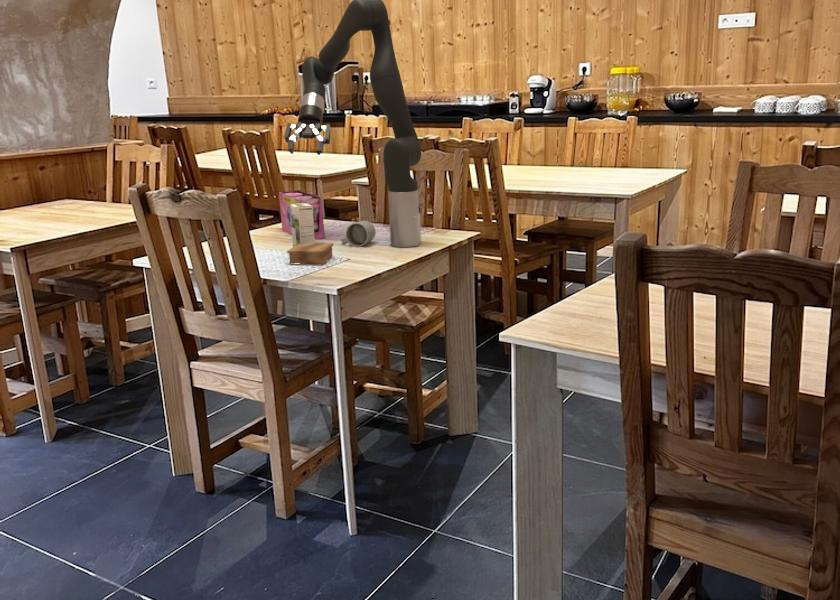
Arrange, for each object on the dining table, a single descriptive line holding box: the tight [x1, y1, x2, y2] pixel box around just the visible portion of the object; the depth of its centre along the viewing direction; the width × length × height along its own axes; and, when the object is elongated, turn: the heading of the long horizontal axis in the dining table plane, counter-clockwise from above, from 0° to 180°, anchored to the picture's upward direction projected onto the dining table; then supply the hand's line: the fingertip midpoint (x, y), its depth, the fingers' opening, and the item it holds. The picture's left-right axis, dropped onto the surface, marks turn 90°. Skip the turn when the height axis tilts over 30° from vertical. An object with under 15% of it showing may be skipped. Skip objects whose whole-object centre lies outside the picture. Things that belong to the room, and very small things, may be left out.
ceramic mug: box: [340, 220, 376, 248], centre depth 250 cm, size 11×8×8 cm
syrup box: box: [291, 203, 316, 247], centre depth 241 cm, size 6×6×14 cm
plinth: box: [286, 242, 334, 265], centre depth 230 cm, size 11×11×4 cm
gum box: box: [278, 189, 326, 240], centre depth 266 cm, size 24×8×14 cm, turn 28°
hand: (304, 152), depth 245 cm, fingers open, 8 cm apart
